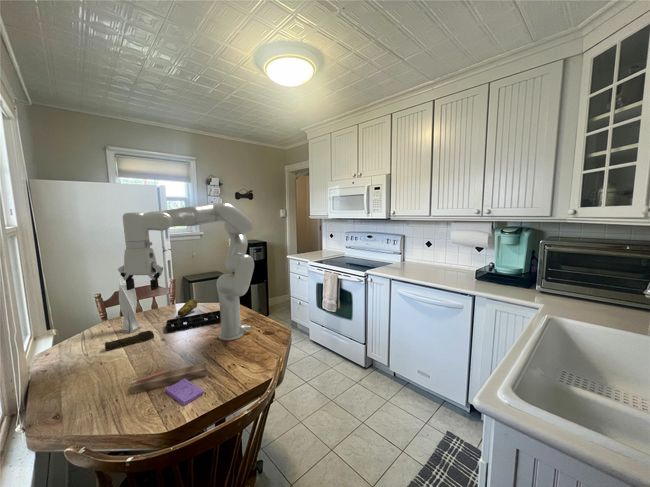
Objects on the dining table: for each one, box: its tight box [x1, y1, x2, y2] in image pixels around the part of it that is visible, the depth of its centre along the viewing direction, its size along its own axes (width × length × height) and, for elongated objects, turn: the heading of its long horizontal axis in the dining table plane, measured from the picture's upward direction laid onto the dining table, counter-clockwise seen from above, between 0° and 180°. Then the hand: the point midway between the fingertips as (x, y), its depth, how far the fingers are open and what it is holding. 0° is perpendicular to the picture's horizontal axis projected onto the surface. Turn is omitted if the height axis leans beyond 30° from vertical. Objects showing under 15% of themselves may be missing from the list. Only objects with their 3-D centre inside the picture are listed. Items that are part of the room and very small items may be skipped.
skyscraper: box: [118, 278, 143, 334], centre depth 142 cm, size 8×8×28 cm
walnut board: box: [129, 362, 207, 395], centre depth 99 cm, size 24×5×3 cm, turn 114°
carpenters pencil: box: [131, 370, 167, 384], centre depth 97 cm, size 10×1×1 cm, turn 126°
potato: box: [177, 299, 198, 317], centre depth 165 cm, size 8×13×8 cm, turn 141°
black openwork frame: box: [165, 310, 221, 333], centre depth 151 cm, size 18×30×4 cm, turn 131°
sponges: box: [165, 378, 205, 406], centre depth 93 cm, size 7×13×2 cm, turn 56°
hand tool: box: [104, 330, 155, 352], centre depth 128 cm, size 19×4×5 cm, turn 126°
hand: (142, 289), depth 103 cm, fingers open, 9 cm apart
